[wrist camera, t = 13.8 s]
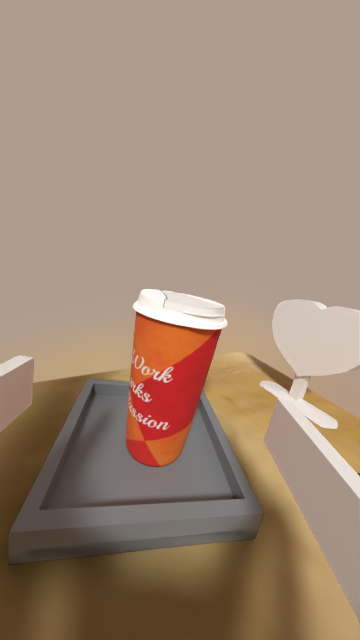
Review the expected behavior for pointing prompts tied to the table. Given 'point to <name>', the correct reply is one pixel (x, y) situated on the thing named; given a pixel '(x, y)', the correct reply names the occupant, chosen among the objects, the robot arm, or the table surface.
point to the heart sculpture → (314, 348)
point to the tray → (131, 488)
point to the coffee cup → (168, 371)
